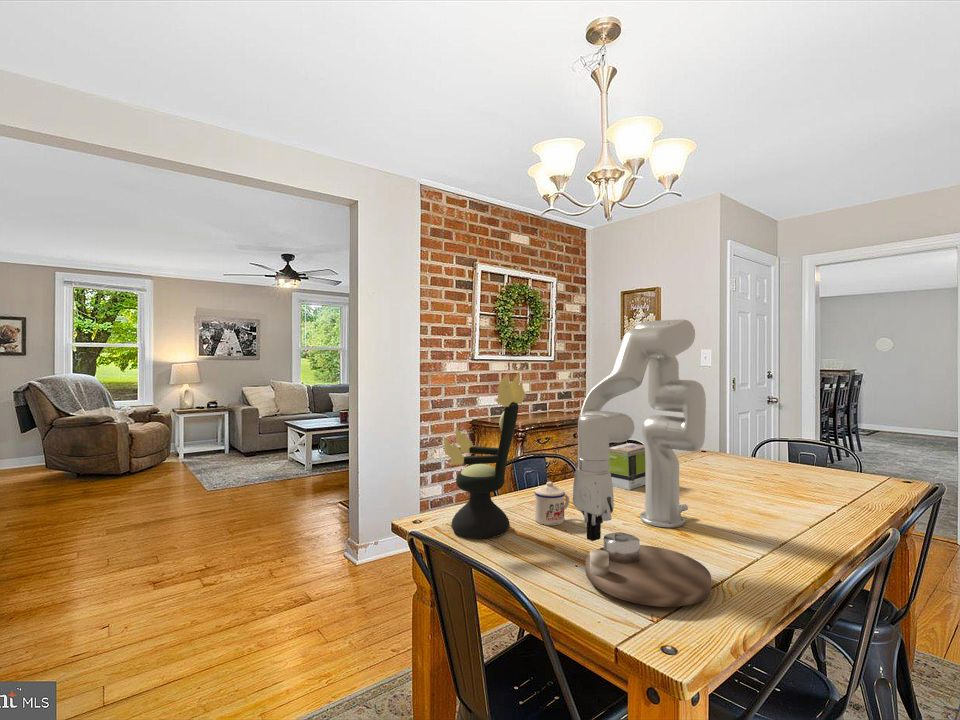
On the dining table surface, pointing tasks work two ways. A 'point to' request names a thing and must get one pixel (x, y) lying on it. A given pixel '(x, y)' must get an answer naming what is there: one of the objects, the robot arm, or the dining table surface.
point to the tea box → (627, 466)
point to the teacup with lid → (550, 504)
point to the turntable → (651, 577)
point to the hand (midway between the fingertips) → (593, 539)
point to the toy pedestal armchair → (485, 470)
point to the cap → (622, 547)
